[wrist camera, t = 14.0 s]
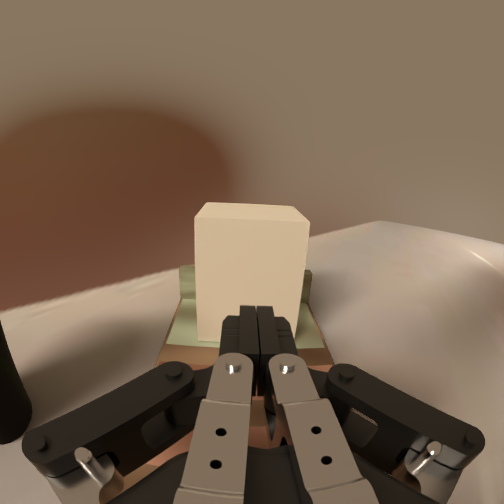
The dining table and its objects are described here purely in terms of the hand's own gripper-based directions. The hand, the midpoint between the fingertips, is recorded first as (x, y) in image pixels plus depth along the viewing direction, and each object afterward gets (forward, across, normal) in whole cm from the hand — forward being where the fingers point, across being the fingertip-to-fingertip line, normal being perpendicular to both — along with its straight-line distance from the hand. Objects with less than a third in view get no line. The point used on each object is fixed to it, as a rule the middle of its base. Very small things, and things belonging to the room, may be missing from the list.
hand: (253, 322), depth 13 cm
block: (+8, 0, +5) cm, 10 cm away
